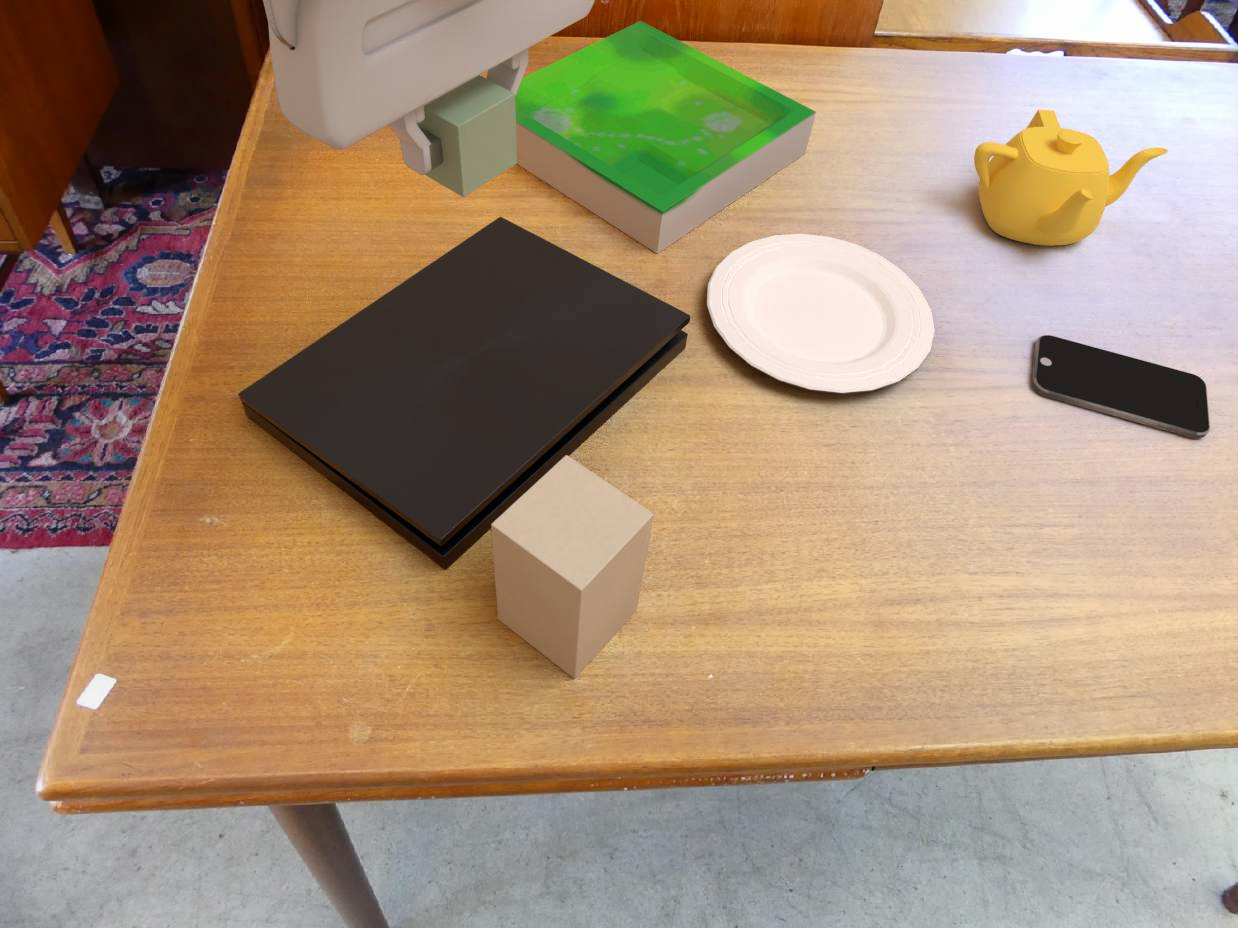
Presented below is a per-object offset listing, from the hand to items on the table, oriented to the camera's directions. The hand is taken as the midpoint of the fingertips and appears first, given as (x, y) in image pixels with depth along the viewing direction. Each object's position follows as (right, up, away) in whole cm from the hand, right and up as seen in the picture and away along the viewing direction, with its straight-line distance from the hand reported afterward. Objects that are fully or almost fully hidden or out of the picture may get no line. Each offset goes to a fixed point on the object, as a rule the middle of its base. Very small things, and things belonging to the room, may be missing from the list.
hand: (461, 143), depth 53 cm
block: (0, -1, +1) cm, 1 cm away
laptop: (-3, -11, +25) cm, 27 cm away
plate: (+27, -5, +32) cm, 43 cm away
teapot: (+53, +7, +44) cm, 69 cm away
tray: (+12, +16, +47) cm, 51 cm away
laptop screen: (-3, -10, +23) cm, 25 cm away
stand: (+5, -29, +12) cm, 32 cm away
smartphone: (+54, -12, +29) cm, 62 cm away
